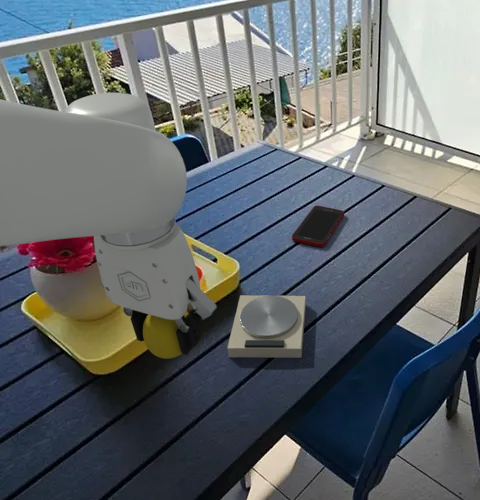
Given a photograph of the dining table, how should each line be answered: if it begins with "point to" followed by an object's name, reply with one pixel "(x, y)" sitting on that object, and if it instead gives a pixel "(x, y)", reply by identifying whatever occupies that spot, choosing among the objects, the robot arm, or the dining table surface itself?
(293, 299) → the scale
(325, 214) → the cell phone
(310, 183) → the dining table surface
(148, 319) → the lemon
